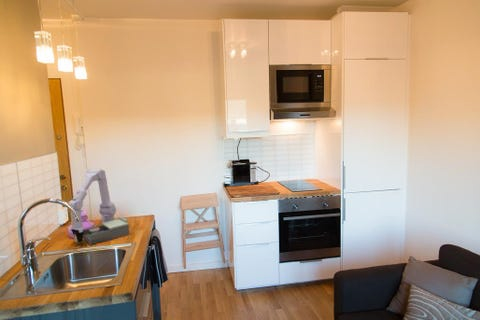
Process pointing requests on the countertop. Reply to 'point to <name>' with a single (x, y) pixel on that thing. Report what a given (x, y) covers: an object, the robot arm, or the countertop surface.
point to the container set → (84, 223)
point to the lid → (116, 223)
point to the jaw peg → (77, 241)
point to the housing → (104, 234)
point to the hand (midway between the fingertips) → (78, 240)
